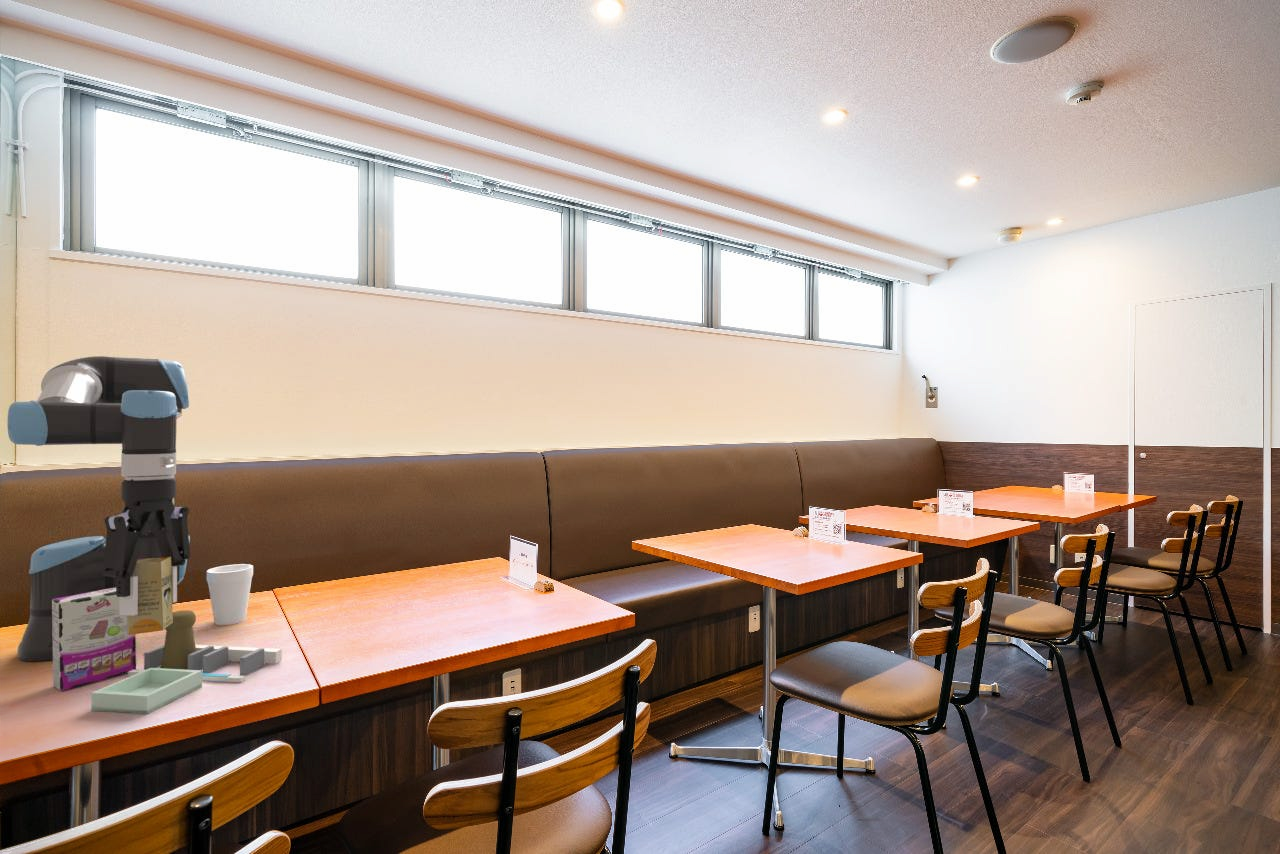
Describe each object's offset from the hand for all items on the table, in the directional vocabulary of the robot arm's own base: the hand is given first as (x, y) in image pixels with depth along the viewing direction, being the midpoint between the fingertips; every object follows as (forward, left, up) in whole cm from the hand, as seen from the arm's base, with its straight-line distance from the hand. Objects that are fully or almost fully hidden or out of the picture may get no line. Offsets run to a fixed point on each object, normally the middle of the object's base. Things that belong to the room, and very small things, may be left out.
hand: (149, 607), depth 105 cm
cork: (-7, +13, -16) cm, 22 cm away
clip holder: (-1, +13, -16) cm, 21 cm away
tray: (0, 0, -16) cm, 16 cm away
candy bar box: (-18, +6, -16) cm, 25 cm away
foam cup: (-20, +40, -16) cm, 48 cm away
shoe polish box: (0, 0, -4) cm, 4 cm away
